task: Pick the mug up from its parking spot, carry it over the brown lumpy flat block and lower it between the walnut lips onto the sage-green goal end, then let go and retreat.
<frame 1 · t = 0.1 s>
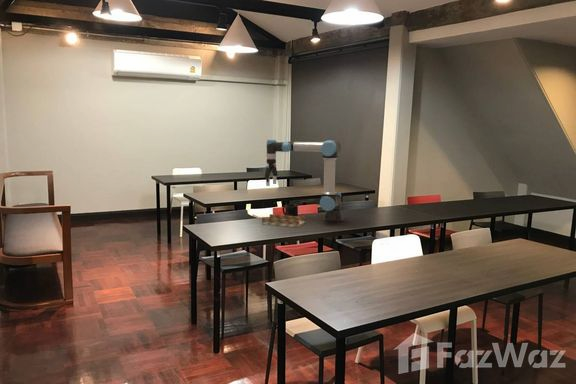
hand: (271, 184, 379), 28 cm above the table, fingers open, 13 cm apart
brown lumpy flat block: (283, 223, 363), on the table
mug: (289, 219, 381), on the table
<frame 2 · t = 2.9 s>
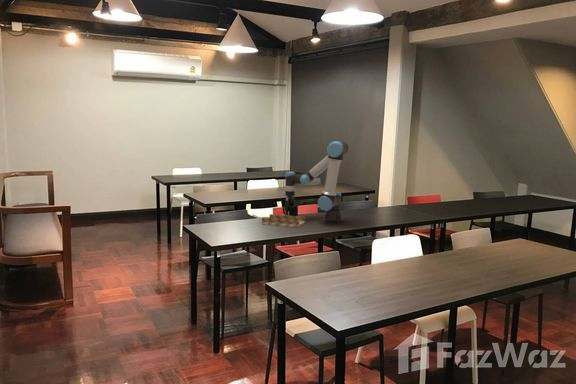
hand: (289, 217, 380), 1 cm above the table, fingers open, 10 cm apart
mug: (289, 219, 381), on the table, touching gripper
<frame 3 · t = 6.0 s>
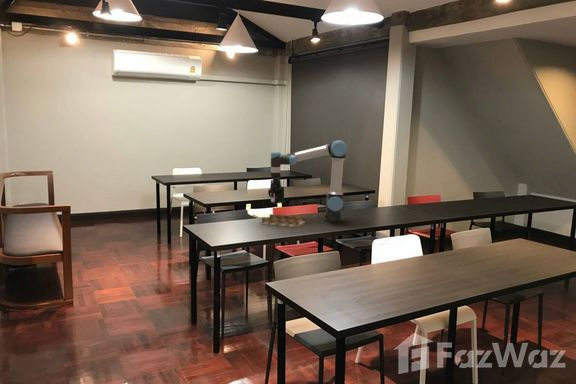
hand: (275, 200, 363), 18 cm above the table, fingers closed on mug, 10 cm apart
mug: (275, 202, 364), point 16 cm above the table, touching gripper
when the fingers open (6 cm above the table, at t = 8.7 s): mug drops 2 cm, resting on brown lumpy flat block.
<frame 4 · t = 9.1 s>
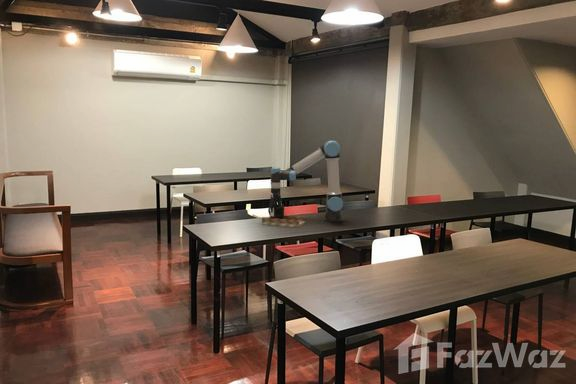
hand: (275, 214, 365), 7 cm above the table, fingers open, 13 cm apart
mug: (275, 220, 366), point 2 cm above the table, touching brown lumpy flat block
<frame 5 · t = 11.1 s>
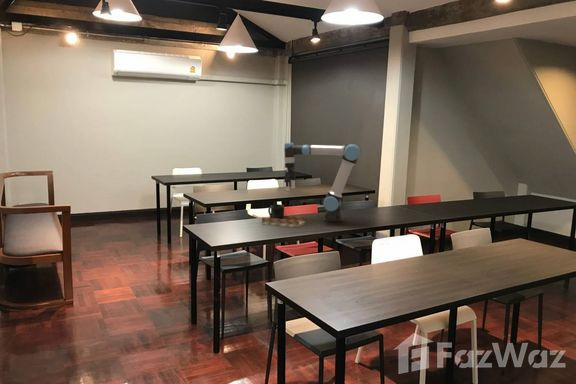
hand: (290, 189, 368), 26 cm above the table, fingers open, 13 cm apart
nothing on the table moved.
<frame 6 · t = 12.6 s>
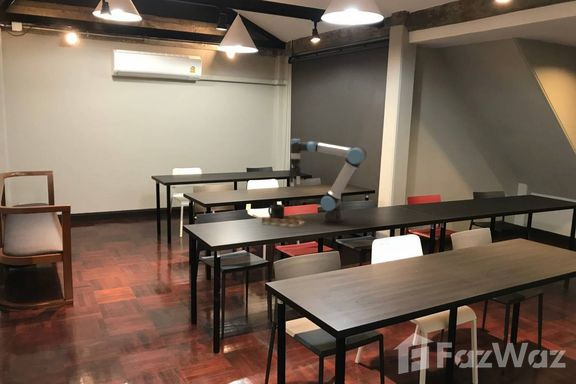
hand: (295, 185, 371), 29 cm above the table, fingers open, 13 cm apart
nothing on the table moved.
at the end: mug inside the target area (1.1 cm from its centre), point 1.8 cm above the table; mug tilted 0°; the gripper is holding nothing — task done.
